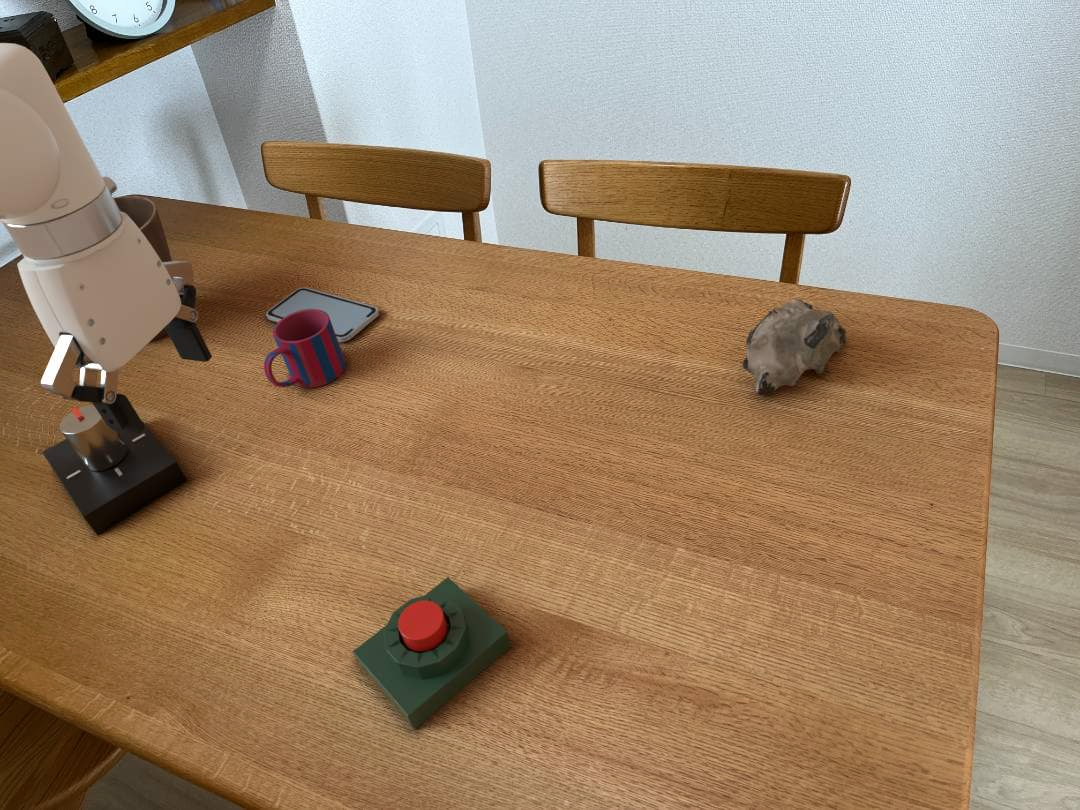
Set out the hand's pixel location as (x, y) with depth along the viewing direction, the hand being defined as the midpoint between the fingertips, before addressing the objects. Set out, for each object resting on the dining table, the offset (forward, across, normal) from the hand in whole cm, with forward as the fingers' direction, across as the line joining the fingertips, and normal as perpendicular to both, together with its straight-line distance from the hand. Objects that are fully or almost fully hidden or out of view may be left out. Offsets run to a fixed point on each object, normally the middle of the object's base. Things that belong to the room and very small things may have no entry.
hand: (165, 392), depth 72 cm
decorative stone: (+16, -32, +53) cm, 64 cm away
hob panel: (+16, -2, -16) cm, 23 cm away
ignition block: (+16, +10, +28) cm, 34 cm away
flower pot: (+16, -27, -32) cm, 45 cm away
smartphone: (+16, -32, -8) cm, 37 cm away
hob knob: (+13, -2, -16) cm, 21 cm away
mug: (+16, -21, -3) cm, 26 cm away
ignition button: (+12, +10, +28) cm, 32 cm away
